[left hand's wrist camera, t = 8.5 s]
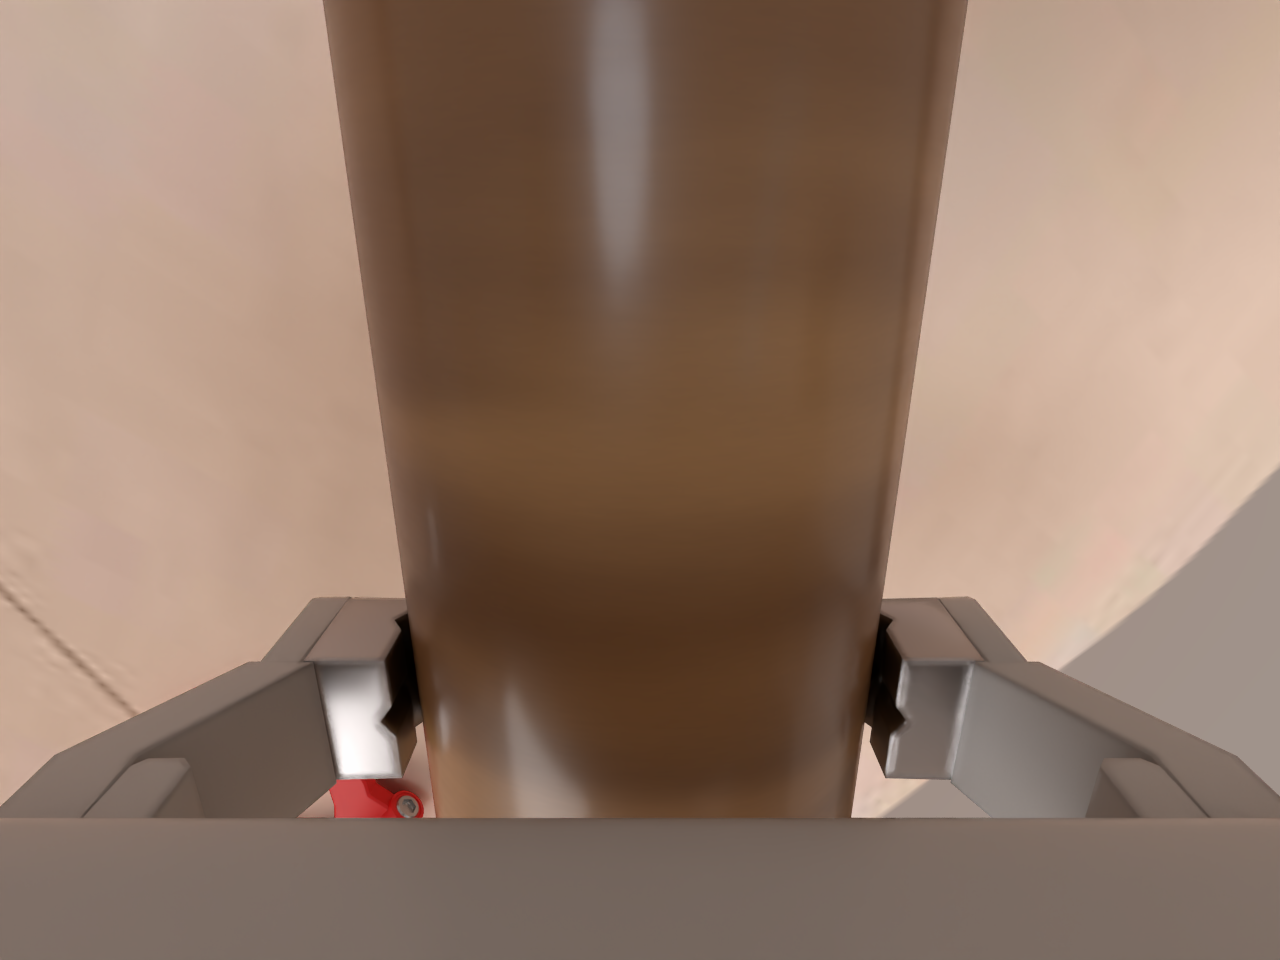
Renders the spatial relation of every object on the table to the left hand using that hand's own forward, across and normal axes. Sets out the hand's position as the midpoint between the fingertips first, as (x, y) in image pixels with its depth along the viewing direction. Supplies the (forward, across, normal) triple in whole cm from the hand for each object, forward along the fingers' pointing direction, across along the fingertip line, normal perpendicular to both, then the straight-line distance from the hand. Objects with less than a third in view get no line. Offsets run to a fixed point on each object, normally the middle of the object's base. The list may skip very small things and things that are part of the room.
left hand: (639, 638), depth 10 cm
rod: (+3, 0, -8) cm, 9 cm away
